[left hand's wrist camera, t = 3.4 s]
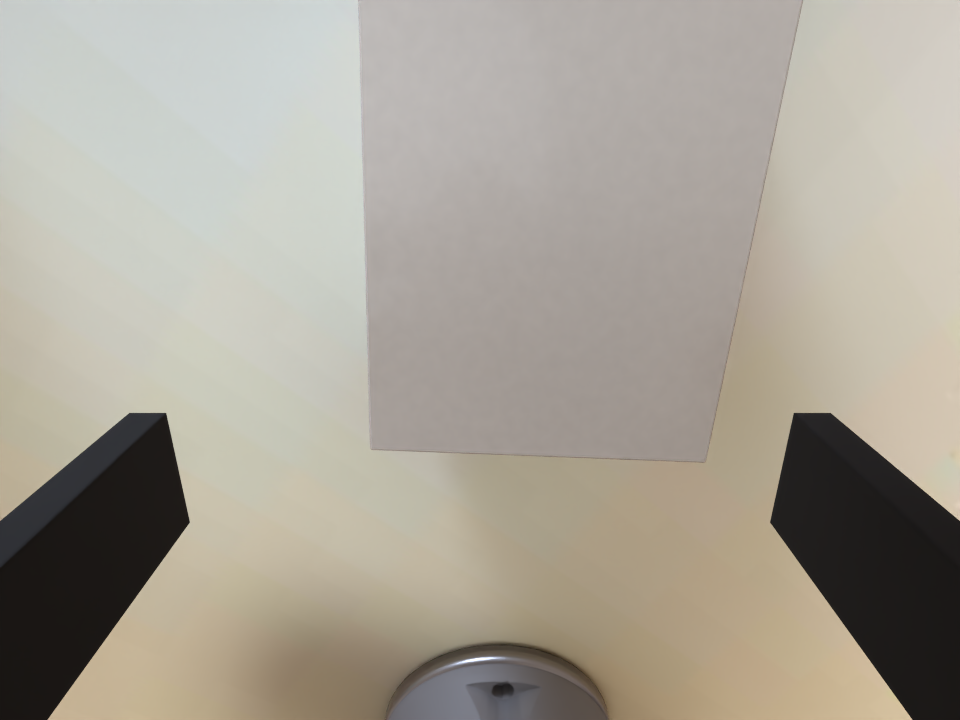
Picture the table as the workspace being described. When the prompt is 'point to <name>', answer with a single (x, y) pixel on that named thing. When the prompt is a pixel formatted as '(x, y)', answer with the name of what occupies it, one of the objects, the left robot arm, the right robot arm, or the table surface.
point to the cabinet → (561, 217)
